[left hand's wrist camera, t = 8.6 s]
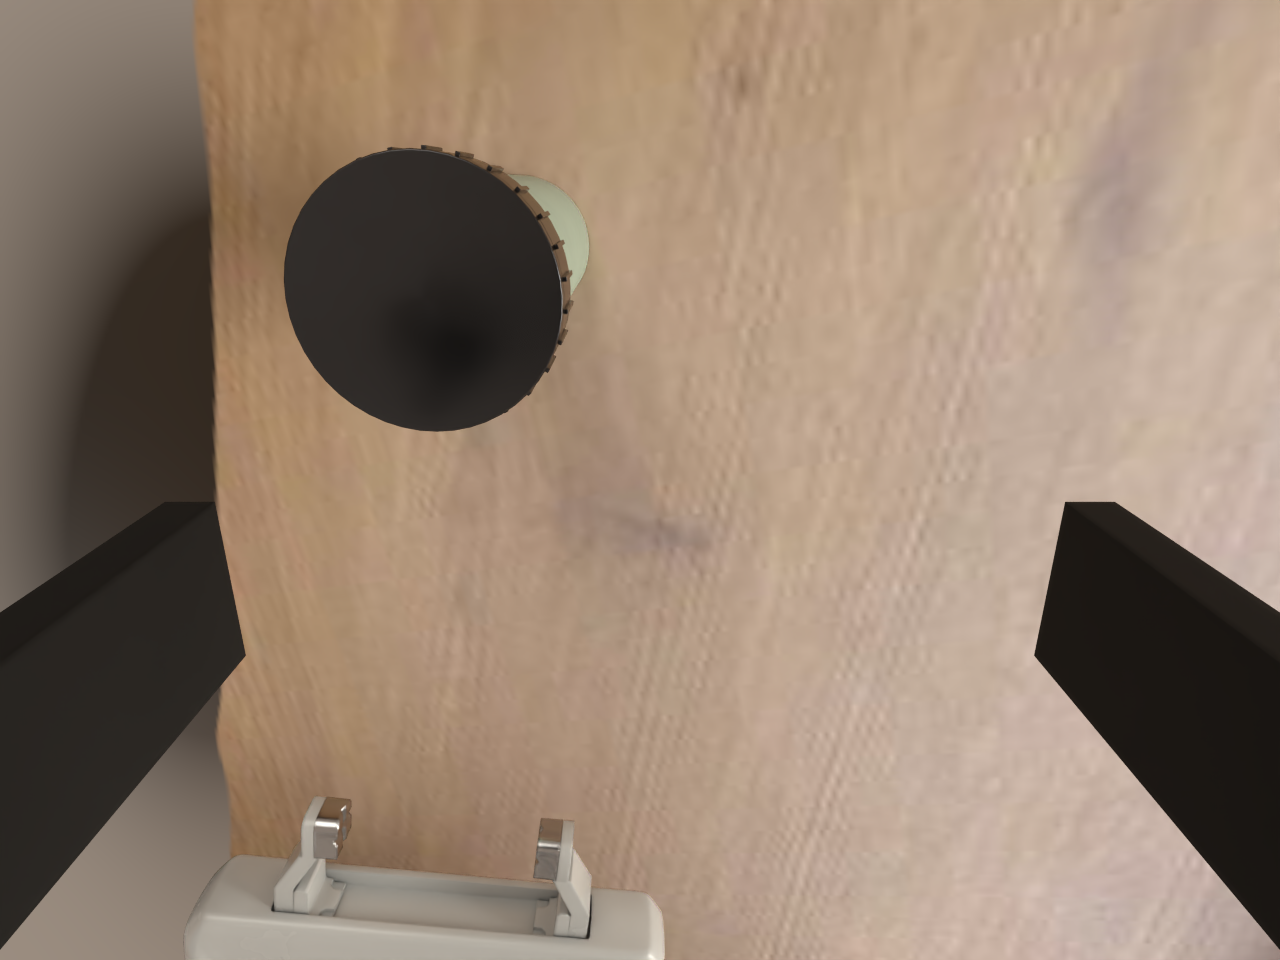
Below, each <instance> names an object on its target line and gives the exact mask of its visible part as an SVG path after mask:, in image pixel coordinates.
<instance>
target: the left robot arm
mask: <svg viewBox="0 0 1280 960" xmlns="http://www.w3.org/2000/svg"><path fill="white" fill-rule="evenodd" d="M245 656H246V654H245V649H244V644H243V639H242V634H241V630H240V625H239V620H238V615H237V610H236V605H235V600H234V595H233V590H232V585H231V580H230V575H229V570H228V565H227V560H226V555H225V550H224V545H223V540H222V536H221V531H220V526H219V521H218V516H217V511H216V506H215V502H164V503H163V504H161V505H160V506H158V507H157V508H155V509H154V510H152V511H151V512H149V513H148V514H146V515H145V516H143V517H142V518H140V519H139V520H137V521H136V522H134V523H133V524H132V525H130V526H129V527H127V528H126V529H124V530H123V531H121V532H120V533H118V534H117V535H115V536H114V537H112V538H111V539H109V540H108V541H106V542H105V543H103V544H102V545H100V546H99V547H97V548H96V549H94V550H93V551H91V552H90V553H88V554H87V555H85V556H84V557H82V558H81V559H79V560H78V561H76V562H75V563H73V564H72V565H70V566H69V567H67V568H66V569H64V570H63V571H61V572H60V573H58V574H57V575H56V576H54V577H53V578H51V579H50V580H48V581H47V582H45V583H44V584H42V585H41V586H39V587H38V588H36V589H35V590H33V591H32V592H30V593H29V594H27V595H26V596H24V597H23V598H21V599H20V600H18V601H17V602H15V603H14V604H12V605H11V606H9V607H8V608H6V609H5V610H3V611H2V612H0V949H1V948H2V947H3V946H4V944H5V943H6V942H7V941H8V940H9V938H10V937H11V936H12V935H13V934H14V932H15V931H16V930H17V929H18V928H19V926H20V925H21V924H22V923H23V922H24V921H25V919H26V918H27V917H28V916H29V915H30V913H31V912H32V911H33V910H34V908H35V907H36V906H37V905H38V904H39V903H40V901H41V900H42V899H43V898H44V896H45V895H46V894H47V893H48V892H49V891H50V889H51V888H52V887H53V886H54V885H55V883H56V882H57V881H58V880H59V879H60V877H61V876H62V875H63V874H64V873H65V871H66V870H67V869H68V868H69V867H70V865H71V864H72V863H73V862H74V861H75V859H76V858H77V857H78V856H79V855H80V853H81V852H82V851H83V850H84V849H85V847H86V846H87V845H88V844H89V843H90V841H91V840H92V839H93V838H94V837H95V835H96V834H97V833H98V832H99V831H100V829H101V828H102V827H103V826H104V825H105V823H106V822H107V821H108V820H109V819H110V817H111V816H112V815H113V814H114V813H115V811H116V810H117V809H118V808H119V807H120V806H121V804H122V803H123V802H124V801H125V800H126V798H127V797H128V796H129V795H130V794H131V792H132V791H133V790H134V789H135V788H136V786H137V785H138V784H139V783H140V782H141V780H142V779H143V778H144V777H145V775H146V774H147V773H148V772H149V771H150V770H151V768H152V767H153V766H154V765H155V764H156V762H157V761H158V760H159V759H160V758H161V756H162V755H163V754H164V753H165V752H166V750H167V749H168V748H169V747H170V746H171V744H172V743H173V742H174V741H175V740H176V738H177V737H178V736H179V735H180V734H181V732H182V731H183V730H184V729H185V728H186V726H187V725H188V724H189V723H190V722H191V720H192V719H193V718H194V717H195V716H196V715H197V713H198V712H199V711H200V710H201V709H202V707H203V706H204V705H205V704H206V703H207V701H208V700H209V699H210V698H211V697H212V695H213V694H214V693H215V692H216V691H217V689H218V688H219V687H220V686H221V685H222V683H223V682H224V681H225V680H226V679H227V677H228V676H229V675H230V674H231V673H232V671H233V670H234V669H235V668H236V667H237V665H238V664H239V663H240V662H241V661H242V659H243V658H244V657H245ZM1034 656H1035V657H1036V658H1037V659H1038V661H1039V662H1040V663H1041V664H1042V665H1043V667H1044V668H1045V669H1046V670H1047V671H1048V673H1049V674H1050V675H1051V676H1052V677H1053V679H1054V680H1055V681H1056V682H1057V683H1058V685H1059V686H1060V687H1061V688H1062V689H1063V691H1064V692H1065V693H1066V694H1067V695H1068V697H1069V698H1070V699H1071V700H1072V701H1073V703H1074V704H1075V705H1076V706H1077V707H1078V709H1079V710H1080V711H1081V712H1082V713H1083V715H1084V716H1085V717H1086V718H1087V719H1088V721H1089V722H1090V723H1091V724H1092V725H1093V726H1094V728H1095V729H1096V730H1097V731H1098V732H1099V734H1100V735H1101V736H1102V737H1103V738H1104V740H1105V741H1106V742H1107V743H1108V744H1109V746H1110V747H1111V748H1112V749H1113V750H1114V752H1115V753H1116V754H1117V755H1118V756H1119V758H1120V759H1121V760H1122V761H1123V762H1124V764H1125V765H1126V766H1127V767H1128V768H1129V770H1130V771H1131V772H1132V773H1133V774H1134V776H1135V777H1136V778H1137V779H1138V780H1139V782H1140V783H1141V784H1142V785H1143V786H1144V788H1145V789H1146V790H1147V791H1148V792H1149V794H1150V795H1151V796H1152V797H1153V798H1154V800H1155V801H1156V802H1157V803H1158V804H1159V806H1160V807H1161V808H1162V809H1163V810H1164V812H1165V813H1166V814H1167V815H1168V816H1169V818H1170V819H1171V820H1172V821H1173V822H1174V824H1175V825H1176V826H1177V827H1178V828H1179V829H1180V831H1181V832H1182V833H1183V834H1184V835H1185V837H1186V838H1187V839H1188V840H1189V841H1190V843H1191V844H1192V845H1193V846H1194V847H1195V849H1196V850H1197V851H1198V852H1199V853H1200V855H1201V856H1202V857H1203V858H1204V859H1205V861H1206V862H1207V863H1208V864H1209V865H1210V867H1211V868H1212V869H1213V870H1214V871H1215V873H1216V874H1217V875H1218V876H1219V877H1220V879H1221V880H1222V881H1223V882H1224V883H1225V885H1226V886H1227V887H1228V888H1229V889H1230V891H1231V892H1232V893H1233V894H1234V895H1235V897H1236V898H1237V899H1238V900H1239V901H1240V903H1241V904H1242V905H1243V906H1244V907H1245V909H1246V910H1247V911H1248V912H1249V913H1250V915H1251V916H1252V917H1253V918H1254V919H1255V921H1256V922H1257V923H1258V924H1259V925H1260V926H1261V928H1262V929H1263V930H1264V931H1265V932H1266V934H1267V935H1268V936H1269V937H1270V938H1271V940H1272V941H1273V942H1274V943H1275V944H1276V946H1277V947H1278V948H1279V949H1280V612H1278V611H1277V610H1275V609H1274V608H1272V607H1271V606H1269V605H1268V604H1266V603H1265V602H1263V601H1262V600H1260V599H1259V598H1257V597H1256V596H1254V595H1253V594H1251V593H1250V592H1248V591H1247V590H1245V589H1244V588H1242V587H1241V586H1239V585H1238V584H1236V583H1235V582H1233V581H1232V580H1230V579H1229V578H1227V577H1226V576H1225V575H1223V574H1222V573H1220V572H1219V571H1217V570H1216V569H1214V568H1213V567H1211V566H1210V565H1208V564H1207V563H1205V562H1204V561H1202V560H1201V559H1199V558H1198V557H1196V556H1195V555H1193V554H1192V553H1190V552H1189V551H1187V550H1186V549H1184V548H1183V547H1181V546H1180V545H1178V544H1177V543H1175V542H1174V541H1172V540H1171V539H1169V538H1168V537H1166V536H1165V535H1163V534H1162V533H1160V532H1159V531H1157V530H1156V529H1154V528H1153V527H1151V526H1150V525H1148V524H1147V523H1146V522H1144V521H1143V520H1141V519H1140V518H1138V517H1137V516H1135V515H1134V514H1132V513H1131V512H1129V511H1128V510H1126V509H1125V508H1123V507H1122V506H1120V505H1119V504H1117V503H1116V502H1065V506H1064V511H1063V516H1062V521H1061V526H1060V531H1059V536H1058V540H1057V545H1056V550H1055V555H1054V560H1053V565H1052V570H1051V575H1050V580H1049V585H1048V590H1047V595H1046V600H1045V605H1044V610H1043V615H1042V620H1041V625H1040V630H1039V634H1038V639H1037V644H1036V649H1035V654H1034Z"/></svg>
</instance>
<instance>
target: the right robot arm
mask: <svg viewBox="0 0 1280 960" xmlns="http://www.w3.org/2000/svg"><path fill="white" fill-rule="evenodd" d="M351 807H352V803H351V800H350V799H342V798H333V797H324V796H315V797H314V798H313V800H312V802H311V804H310V806H309V808H308V810H307V812H306V814H305V816H304V819H303V822H302V827H301V840H300V841H299V842H298V844H297V845H296V846H295V847H294V848H293V850H292V853H291V855H290V857H289V859H287V858H276V857H266V856H256V855H247V854H242V855H237V856H234V857H233V858H231V859H230V860H229V861H228V862H227V863H225V864H224V865H223V866H222V867H221V868H220V869H219V870H218V871H217V872H216V873H215V874H214V876H213V877H212V879H211V880H210V882H209V883H208V885H207V886H206V888H205V889H204V891H203V892H202V894H201V896H200V898H199V900H198V901H197V903H196V905H195V907H194V909H193V911H192V913H191V915H190V917H189V919H188V922H187V925H186V928H185V932H184V956H185V960H664V928H663V917H662V912H661V910H660V908H659V907H658V906H657V904H656V903H655V902H654V900H653V899H652V898H651V897H650V895H648V894H647V893H645V892H642V891H635V890H622V889H612V888H601V887H591V874H590V873H589V871H588V870H587V868H586V867H585V865H584V863H583V862H582V860H581V859H580V857H579V856H578V854H577V852H576V851H575V849H574V848H573V837H574V825H575V821H571V820H560V819H546V818H541V822H540V829H539V836H538V844H537V852H536V861H535V869H534V878H539V879H547V880H553V883H547V882H536V881H525V880H514V879H504V878H493V877H482V876H471V875H460V874H449V873H439V872H428V871H417V870H406V869H395V868H384V867H374V866H363V865H352V864H341V863H330V862H326V859H335V860H337V859H338V857H339V854H340V852H341V850H342V848H343V840H345V839H346V838H347V836H348V833H349V831H350V828H351V814H350V812H349V811H350V809H351Z"/></svg>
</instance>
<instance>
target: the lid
mask: <svg viewBox="0 0 1280 960" xmlns="http://www.w3.org/2000/svg"><path fill="white" fill-rule="evenodd" d="M387 149H388V150H387V151H382V152H378V153H373V154H370V155H368V156H365V157H359V158H357V159H356V160H355V161H353V162H351V163H349V164H348V165H346V166H344V167H342V168H341V169H339V170H338V171H336V172H335V173H334V174H332V175H331V176H330V177H329V178H327V179H326V180H325V181H324V182H323V183H322V184H321V185H320V186H319V187H318V188H317V189H316V190H315V191H314V193H313V194H312V195H311V196H310V198H309V199H308V201H307V202H306V204H305V205H304V206H303V208H302V209H301V211H300V213H299V216H298V218H297V220H296V222H295V224H294V226H293V229H292V232H291V235H290V238H289V241H288V245H287V251H286V257H285V265H284V287H285V298H286V303H287V307H288V312H289V317H290V320H291V322H292V325H293V328H294V331H295V334H296V336H297V338H298V340H299V342H300V344H301V346H302V348H303V350H304V352H305V354H306V355H307V357H308V358H309V360H310V361H311V363H312V364H313V366H314V368H315V369H316V370H317V371H318V372H319V374H320V375H321V376H322V377H323V378H324V380H325V381H326V382H327V383H328V384H329V385H330V386H331V387H332V388H333V389H334V390H335V391H336V392H337V393H339V394H340V395H341V396H342V397H344V398H345V399H346V400H347V401H349V402H350V403H351V404H353V405H354V406H356V407H357V408H359V409H361V410H362V411H364V412H366V413H367V414H369V415H371V416H373V417H376V418H378V419H380V420H382V421H385V422H387V423H390V424H394V425H397V426H400V427H403V428H409V429H414V430H420V431H435V432H439V431H454V430H459V429H464V428H470V427H473V426H476V425H479V424H482V423H485V422H487V421H489V420H491V419H493V418H495V417H498V416H500V415H502V414H503V413H506V412H508V410H509V409H510V408H512V407H513V406H515V405H516V404H517V403H518V402H519V401H520V400H522V399H523V398H524V397H525V396H526V395H528V396H529V395H530V394H531V393H532V391H533V389H534V387H535V385H536V384H537V382H538V381H539V380H540V378H541V376H542V375H543V373H544V372H547V373H548V372H549V370H550V368H551V366H552V364H553V362H554V360H555V358H556V356H555V355H554V353H555V351H556V349H557V347H558V345H561V344H562V342H563V340H564V338H565V336H566V335H567V332H568V330H566V329H565V327H566V323H567V320H568V314H569V311H570V309H571V308H572V306H573V301H571V300H570V293H571V286H570V277H571V276H572V274H573V273H572V270H569V268H568V264H567V259H566V255H565V252H564V249H563V245H564V244H565V242H564V240H560V238H559V236H558V234H557V232H556V230H555V228H554V226H553V224H552V222H551V220H550V219H549V217H548V216H549V215H550V213H549V211H546V212H545V211H544V210H543V208H542V207H541V206H540V204H539V203H538V202H537V201H536V200H535V199H534V198H533V196H532V195H531V194H530V193H529V192H528V191H529V188H528V187H527V186H521V185H520V184H519V183H518V182H517V181H515V180H514V179H512V178H511V177H510V176H508V175H507V174H505V173H504V172H502V171H503V169H504V168H502V167H501V166H493V165H489V164H487V163H485V162H483V161H480V160H477V159H474V158H473V157H474V154H471V153H466V152H459V151H455V153H450V152H443V151H442V148H439V147H433V146H427V145H421V149H414V148H406V149H402V148H395V147H389V148H387Z"/></svg>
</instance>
